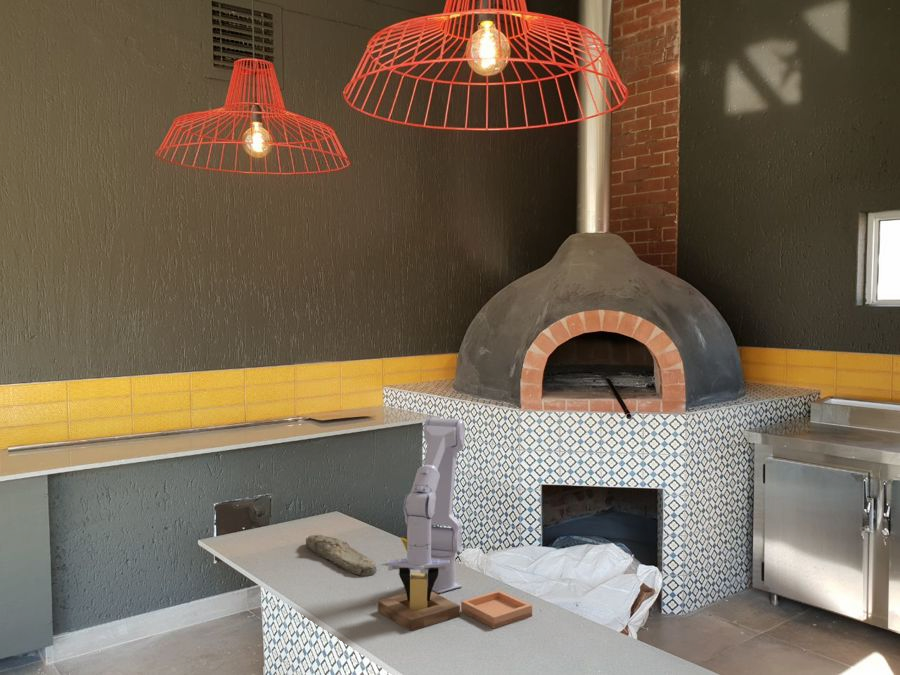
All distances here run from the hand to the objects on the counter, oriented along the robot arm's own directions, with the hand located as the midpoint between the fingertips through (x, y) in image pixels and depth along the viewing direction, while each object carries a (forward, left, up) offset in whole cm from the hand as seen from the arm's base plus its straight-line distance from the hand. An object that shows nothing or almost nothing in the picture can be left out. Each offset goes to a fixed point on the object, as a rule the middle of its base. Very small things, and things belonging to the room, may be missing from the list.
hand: (418, 599), depth 179 cm
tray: (+11, +15, -3) cm, 19 cm away
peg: (0, 0, -3) cm, 3 cm away
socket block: (0, 0, -3) cm, 3 cm away
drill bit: (-31, +20, -4) cm, 37 cm away
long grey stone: (-46, +4, -4) cm, 46 cm away
